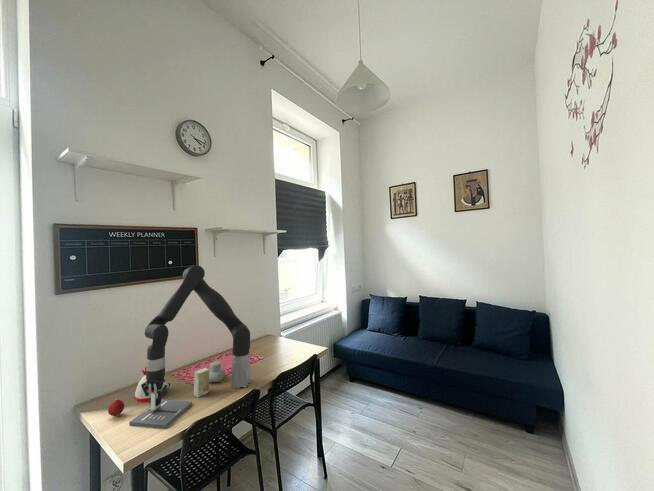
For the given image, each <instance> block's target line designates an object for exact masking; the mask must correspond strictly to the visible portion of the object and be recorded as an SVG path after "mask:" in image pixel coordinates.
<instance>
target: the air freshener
mask: <svg viewBox="0 0 654 491" xmlns="http://www.w3.org/2000/svg"><path fill="white" fill-rule="evenodd" d="M225 375H226V371H225V369H223V368H222V362H221V361H212V362H210V364H209V383H212V382H214V383H218V381H219V382H220V381H222V380H223V379H224V377H225Z"/></svg>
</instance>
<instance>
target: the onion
mask: <svg viewBox="0 0 654 491" xmlns="http://www.w3.org/2000/svg"><path fill="white" fill-rule="evenodd" d="M124 409H125V403H124V401H123V400H121V399H118V398H115V399H114V400H113V402H112V403H110V404H109V406H108V409H107V413H108V415H110V416H112V417H114V418H116V417H118V416H119V415H120V414H122V413H123V411H124Z"/></svg>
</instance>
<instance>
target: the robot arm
mask: <svg viewBox="0 0 654 491" xmlns="http://www.w3.org/2000/svg"><path fill="white" fill-rule="evenodd" d="M205 274H206V273H205V269H204V268H203V266H201V265H198V264H194V265H192V266H189V267H186V269H184V271H183V273H182V282H181V284H180V285H179V287H178V288H177V290H175V291H174V293H173V294H172V295H171V297H170V298H169V299H168V300H167V301H166V303H165V304H164V306H163V307H162V308H161V310H160V312H158V314H157V315H156V316H155V317H154V318H153V319H152V320H151V321H149V323H148V324H147V326H146V327H145V330H144V336H145V337H146V338H148V339H150V340H152V343H151V345H149V346H148V347H147V349H146V350H147V354H146V355H147V356H146V363H145V364H146V365H145V367H146V380H147V381H146V382H144V383H143V384H141V387H142V389H143V391H144V393H145V396H149V398H150V401H149V405H150V406H149V407H151V392H153V391H154V392H155V394H156V402H155V406H158V405H160V403H161V399H162V397H163V396H165V395H166V393H167V392H168V390H169V388H170V386H171V383H169V382H168V383H167V382H166V379H165V375H166V355H165V354H166V345H167V342H168V338H169V329H168V328H169V327H168V326H167V325H166V324H168V323H169V322H172V321H174V319H175V317H177V315H178V313H179V312H180V310H181V309H182V307H183V305H184V304H185V302H186V300H187V299H188V298H189V296H190V295H191V293H192V292H193V291H194V292H195V293H196V294H197V295H198V296H199V298H200V299H201V301H202V302H203V304H204V305H205V306H206V307H207V309H209V311H210V312H211V313H212V314H213V315H214V317H216V318H217V320H219V321H220V322H222V323H223V324H224V325H225V326H226V328H227V329H228V331H229V332H230V334H231V336H232V351H231V353H232V354H231V359H232V360H231V361H232V362H231V387H232V386H233V387H243V386H246V385H247V384H248V383H249V381H250V382H251V365H250V349H251V331H250V329H249V327H248V326H247V325H246V324H245V323H244V322H242V320H240V319H239V318H238V316H237V315H236V314H235V313H234V310H233V309H232V307H231V306H230V304H229V302H227V301H226V299H225V298H224V296H222V295H221V294H220V293H219V292H218V291H217V290H215V289H213V288H212V287H211V286H210V285H209V284H208V283H207V282H206V280H205V279H204V278H205ZM249 384H250V383H249ZM249 384H248V385H249ZM162 386H163V387H162ZM233 387H232V388H233ZM162 388H163V389H162ZM147 390H148V392H147Z"/></svg>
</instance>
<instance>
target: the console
mask: <svg viewBox="0 0 654 491" xmlns="http://www.w3.org/2000/svg"><path fill="white" fill-rule="evenodd" d="M160 405H161V407H160V408H158V409H157V410H156V411H154V412H153V413H149V410H151V406H149V407H148V408H147V409H145V410H144V411H142V412H141V413H140V414H138V415H137V416H135V417H134V418H133V419H132V420H129V424H128V425H129V426H130V427H140V428H141V427H142V428H152V429H163V430H166V429H167V428H168V427H169V426H170V425H172V424H173V423H174V422H175V421H176V420H177V419H178V418H180V416H181V415H183V414H184V413H185V411H187V410H189V409H190V408H191V407H192V406H193V401H190V400H189V401H187V400H176V399H175V400H174V399H165V398H164V399H163V398H161V403H160Z"/></svg>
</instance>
